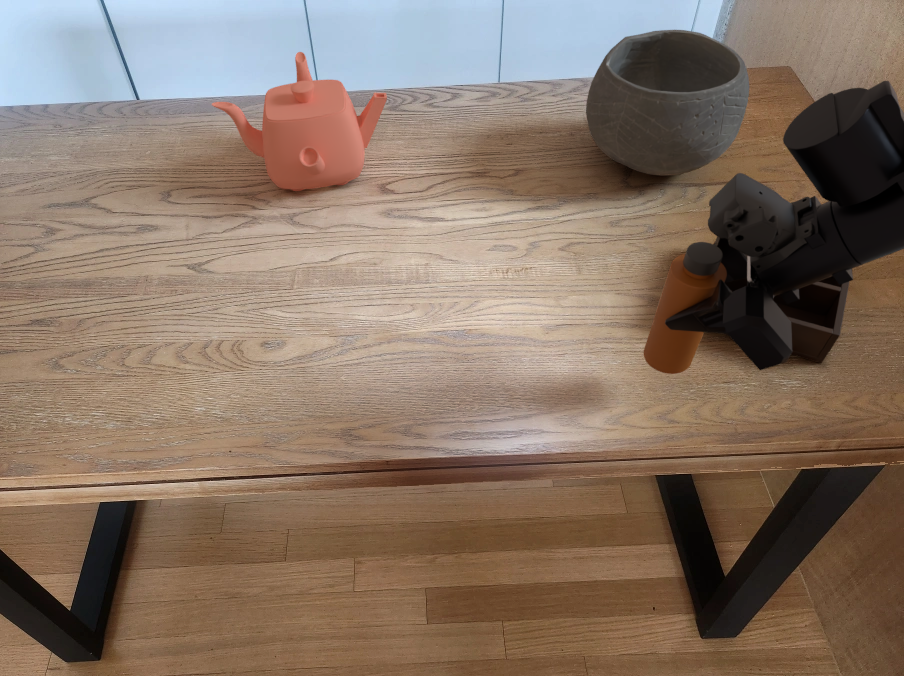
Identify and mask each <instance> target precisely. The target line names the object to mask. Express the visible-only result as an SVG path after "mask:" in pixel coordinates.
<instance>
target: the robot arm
mask: <svg viewBox="0 0 904 676" xmlns="http://www.w3.org/2000/svg"><path fill="white" fill-rule="evenodd" d="M782 142H783V144H784V146H785V147H786V149H787V150H788V152H789V153H790V154H791V156H792V158H793V159H794V160H795V162H796V163H797V164H798V166H799V167H800V168H801V170H802V171H803V173H804V174H805V176H806V177H807V178H808V179H809V181H810V182H811V184H812V185H813V186H814V188H815V189H816V191H817V192H818V193H819V195H820V196H821V198H822V199H823V200H826V201H825V202H823V203H821V202H820V200H819V198H817V196H816V195H813V196H811V197H809V196H804V197H802V198H800V199H798V200H796V201H792V202H790V201H788V200H787V199H785V198H784V197H782V195H781V194H779V193H778V192H777V191H776V190H774V189H772V188H770V187H768V186H767V185H765V184H763V183H761V182H760V181H758V180H756V179H754V178H752V177H751V176H749V175H747V174H745V173H742V172H737V173H736V174H735V175H734V176H733V177H732V178H731V179H730V180H729V181H728V182H727V183H726V184H725V185H724V186H722V188H721V189H720V190H719V191H718V192H717V193H716V194H715V195H713V196H712V198H710V199H709V202H708V206H709V207H710V208H709V217H708V219H707V227H708V229H709V230H710V232H711V233H712V234H713V235H715V236H716V239H715V241H714V242H713V243H712V244H713V245H715V246H717V247H718V248H719V249H720V250H721V251H722V254H723V258H722V260H721V263H722V264H723V265H724V267H725V269H726V272H727V277H726V280H725V282H723V281H722V279H720V280H719V281H718V284H717V286H716V288H715V291H714V293H713V295H712V296H711V297H709V298H707V299H705V300H703V301H701V302H699V303H697V304H695V305H693V306H690V307H688V308H686V309H684V310H682V311H680V312H678V313H676V314H675V315H673V316H671V317H670V318H668V319H666V320H665V325H666V326H667V327H668V328H669V329H671V330H681V331H695V332H704V333H710V334H720V335H724V334H726V335H725V336H727V335H729V336H728V337H730V339H731V340H732V341H733V342H734V343H735V344H736V345H737V346H738V348H739V349H740V350H741V352H743V353H744V354H745V356H746V357H747V358H748V359H749V360H750V361H751V362H752V363H753V365H754V366H755V367H756V368H757V369H758V370H759V371H762V370H763V371H764V370H766V369H769V368H772V367H775V366H779V365H783V364H786V363H787V362H788V361H789V358H790V357H791V355H792V354H791V353H792V329H791V321H790V320H789V319H788V318H787V316H786V315H785V314H784V313H783V312H782V310H781V309H780V308H779V307H778V306H777V304H776V303H775V302H774V301H773V295H774V296H776V295H780V296H781V297H782V299H783V300H784V301H785V302H786V304H789V303H792V302H795V301H798V300H799V289H800V288H802V287H805V286H808V285H810V284H813V283H816V282H818V281H821V280H824V279H826V278H829V277H831V276H833V277H834V278H835V280H836V281H837V282H838V284H839V285H841V284H844V283H846V282H849V281H850V282H851V281H854V275H853V269H855V268H857V267H860V266H863V265H865V264H868V263H870V262H873V261H876V260H878V259H881V258H884V257H886V256H888V255H891V254H894V253H897V252H900V251H903V250H904V110H903V109H902V107H901V105H900V102H899V98H898V95H897V92H896V90H895V88H894V86H892V83H891V82H890V80H882V81H881V82H879V83H877V84H876V85H874V86H871V87H870V88H868V89H867V88H864V87H851V88H847V89H844V90H841V91H838V92H835V93H833V92H830V93H827V94H826V95H823V96H822V97H820V98H819V99H817V100H815V101H814V102H813V103H811V104H809V105H808V106H807V107H806V108H805V109H803V110H802V111H801V112H800V113H799V114H797V115H796V117H794V119H793V120H792V121H791V122H790V124H789V125H788V126H787V128H786V130H785V132H784V134H783V137H782ZM744 278H747V286H745V287H743V288H740V289H738V290H735V291H733V292H732V291H731V290H730V289H729V288H728V286H727V285H726V284H725V283H726V282H731V281H735V280H740V279H744ZM850 282H849V283H850Z"/></svg>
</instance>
